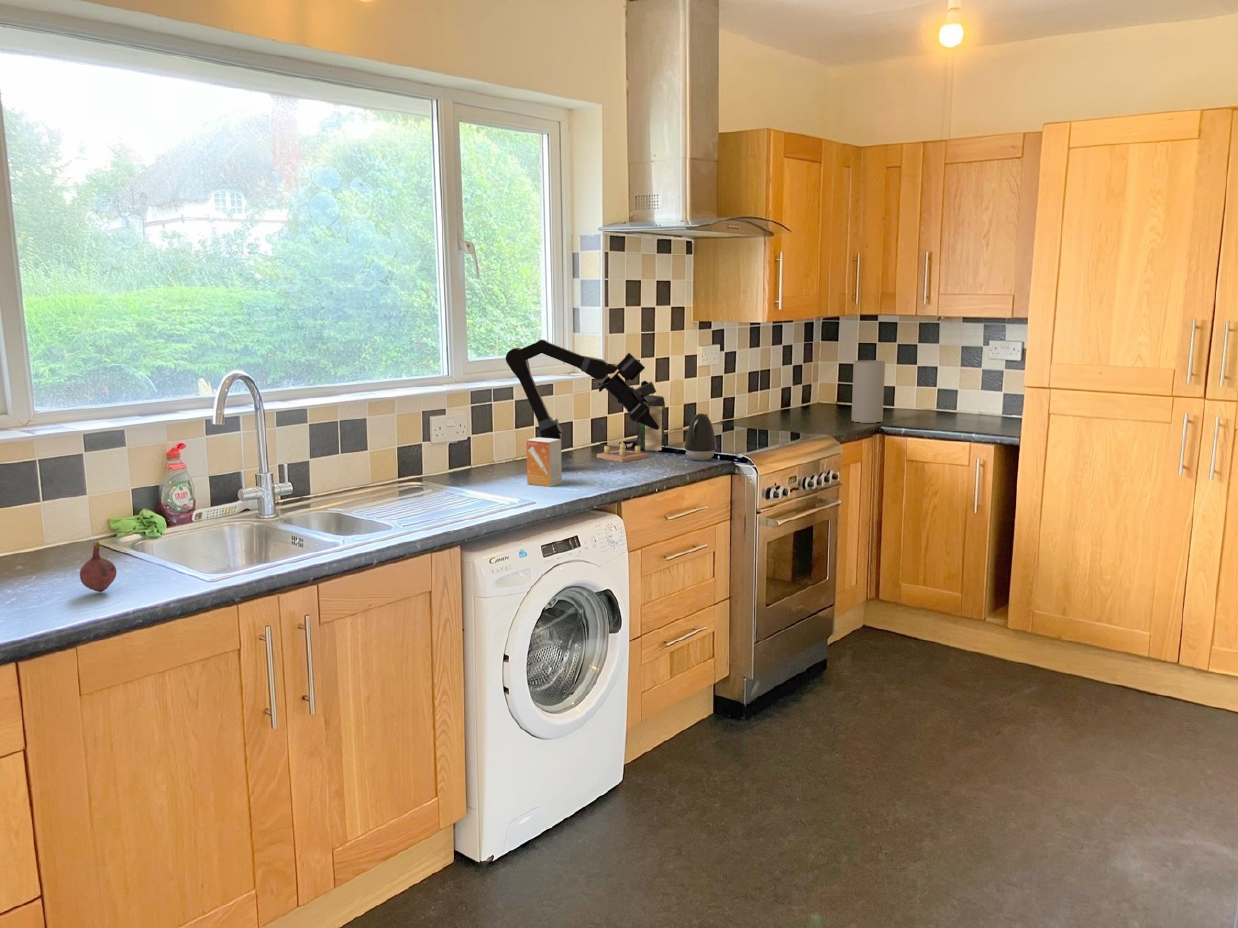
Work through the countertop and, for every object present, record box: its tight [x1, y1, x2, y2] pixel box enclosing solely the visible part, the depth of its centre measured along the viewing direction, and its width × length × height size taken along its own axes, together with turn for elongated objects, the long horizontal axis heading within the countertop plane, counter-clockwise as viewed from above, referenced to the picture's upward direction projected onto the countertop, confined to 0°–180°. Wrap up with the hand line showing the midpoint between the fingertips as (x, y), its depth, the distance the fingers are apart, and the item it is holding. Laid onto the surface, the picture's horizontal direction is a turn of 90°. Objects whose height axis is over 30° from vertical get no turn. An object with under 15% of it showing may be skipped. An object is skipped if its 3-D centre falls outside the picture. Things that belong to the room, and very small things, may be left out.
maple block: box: [644, 406, 663, 451], centre depth 297 cm, size 5×5×13 cm
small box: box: [526, 436, 563, 488], centre depth 279 cm, size 8×6×13 cm
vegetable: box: [79, 540, 117, 593], centre depth 180 cm, size 6×6×10 cm
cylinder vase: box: [851, 359, 886, 424], centre depth 401 cm, size 12×12×25 cm
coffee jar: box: [636, 394, 666, 450], centre depth 339 cm, size 10×8×19 cm
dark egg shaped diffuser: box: [684, 412, 717, 462], centre depth 316 cm, size 10×10×15 cm
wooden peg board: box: [596, 443, 649, 463], centre depth 322 cm, size 12×12×4 cm
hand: (657, 427), depth 297 cm, fingers closed on maple block, 5 cm apart
